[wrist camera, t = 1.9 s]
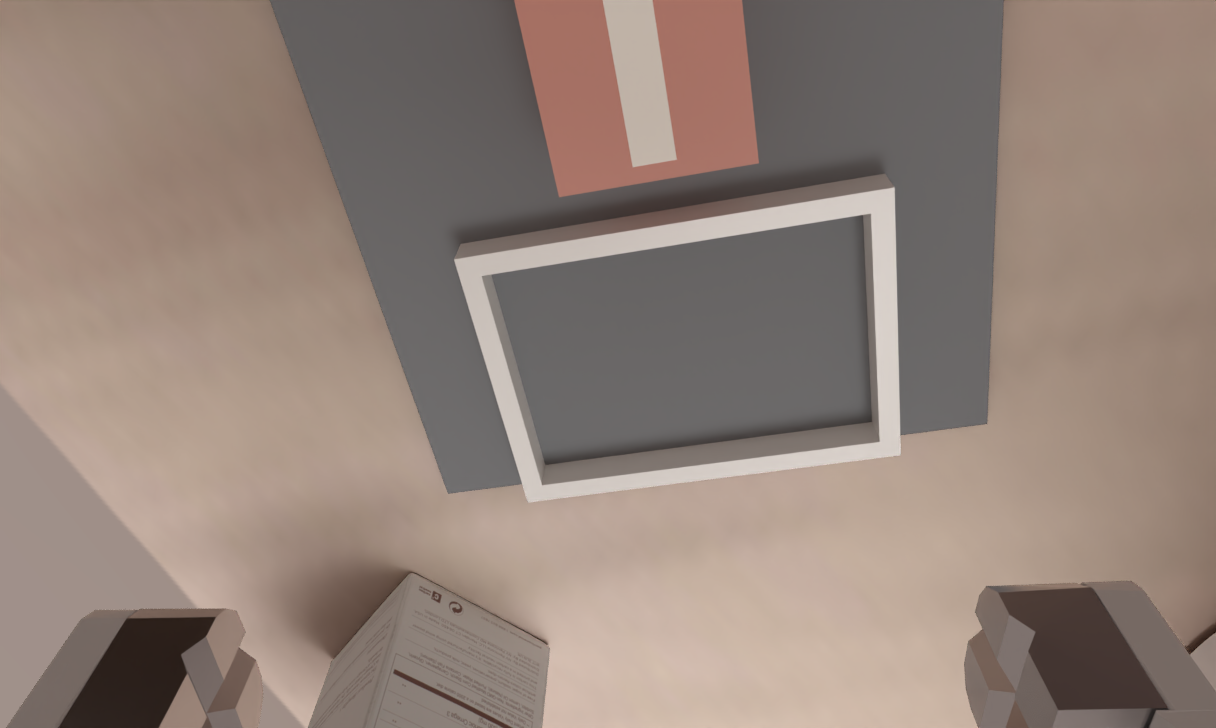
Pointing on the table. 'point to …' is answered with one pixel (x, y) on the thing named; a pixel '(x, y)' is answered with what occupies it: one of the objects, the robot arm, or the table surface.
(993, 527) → the table surface
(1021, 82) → the table surface
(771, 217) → the frame
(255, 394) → the table surface
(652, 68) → the card deck
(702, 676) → the table surface
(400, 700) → the supplement box
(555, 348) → the desk mat
